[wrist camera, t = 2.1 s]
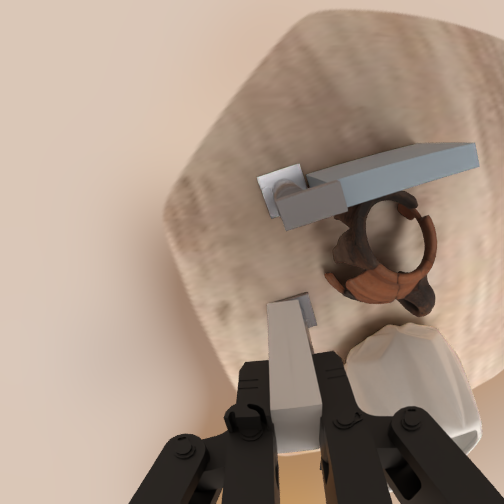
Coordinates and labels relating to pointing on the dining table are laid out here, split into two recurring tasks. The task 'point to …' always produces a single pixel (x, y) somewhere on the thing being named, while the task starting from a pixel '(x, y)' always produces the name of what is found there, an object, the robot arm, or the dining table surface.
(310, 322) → the post
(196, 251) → the dining table surface
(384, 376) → the vase
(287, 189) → the hinge post
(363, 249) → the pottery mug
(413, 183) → the gate
